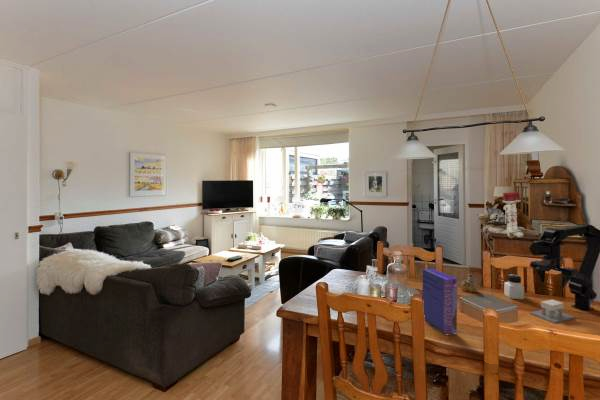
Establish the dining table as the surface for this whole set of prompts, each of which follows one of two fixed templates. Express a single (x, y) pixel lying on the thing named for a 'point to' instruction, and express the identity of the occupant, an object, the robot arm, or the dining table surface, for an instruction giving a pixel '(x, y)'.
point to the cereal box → (440, 300)
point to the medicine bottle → (514, 287)
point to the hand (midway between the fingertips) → (552, 285)
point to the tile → (555, 318)
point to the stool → (552, 307)
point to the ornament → (469, 285)
